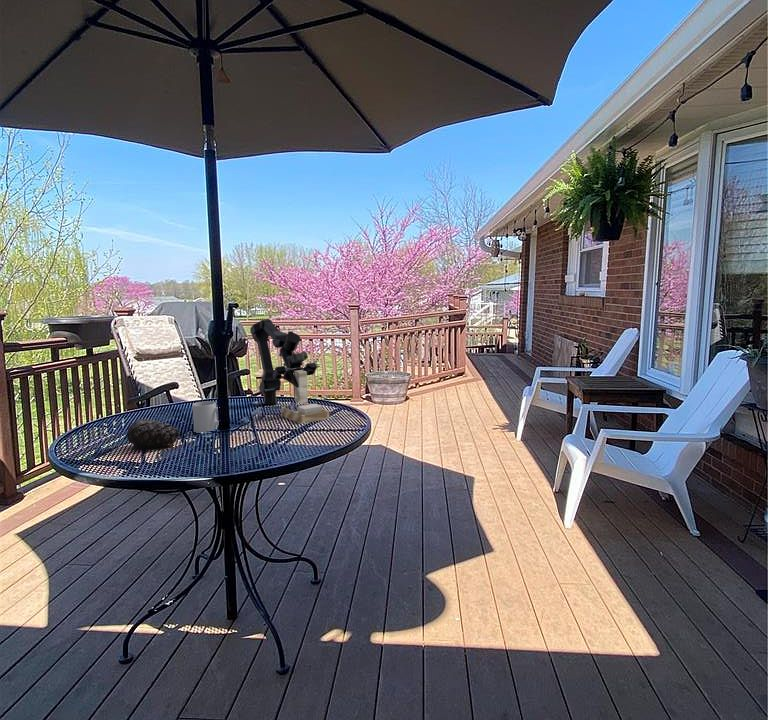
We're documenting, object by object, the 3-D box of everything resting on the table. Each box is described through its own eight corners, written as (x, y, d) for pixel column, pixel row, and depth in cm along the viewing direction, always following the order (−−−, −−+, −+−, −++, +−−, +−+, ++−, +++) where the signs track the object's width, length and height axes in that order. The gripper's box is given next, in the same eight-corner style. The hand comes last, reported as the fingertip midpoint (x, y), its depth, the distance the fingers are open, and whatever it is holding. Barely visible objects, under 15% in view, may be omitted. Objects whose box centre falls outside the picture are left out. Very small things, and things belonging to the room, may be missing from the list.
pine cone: (177, 449, 162) (174, 421, 161) (122, 452, 161) (120, 423, 160) (187, 440, 173) (185, 413, 171) (136, 443, 171) (133, 415, 170)
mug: (190, 434, 180) (187, 406, 179) (200, 428, 189) (198, 401, 187) (221, 434, 179) (219, 406, 178) (229, 428, 188) (228, 401, 186)
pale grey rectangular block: (294, 401, 203) (293, 371, 201) (302, 400, 205) (301, 370, 203) (300, 403, 199) (299, 372, 197) (307, 402, 201) (306, 371, 199)
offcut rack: (279, 416, 204) (279, 407, 204) (308, 411, 213) (308, 402, 212) (300, 426, 188) (300, 416, 188) (331, 420, 197) (331, 410, 196)
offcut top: (298, 412, 196) (297, 406, 196) (315, 409, 201) (315, 403, 200) (304, 415, 191) (304, 409, 191) (322, 412, 196) (322, 406, 196)
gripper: (274, 347, 196) (286, 377, 189) (314, 344, 207) (328, 372, 200) (267, 364, 204) (279, 394, 196) (306, 360, 214) (319, 388, 207)
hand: (302, 386), depth 200 cm, fingers closed on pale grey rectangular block, 3 cm apart
